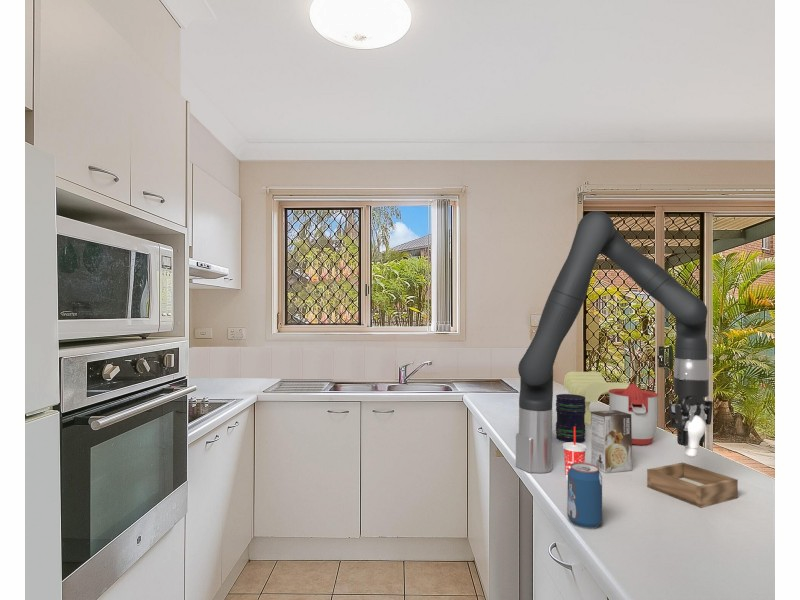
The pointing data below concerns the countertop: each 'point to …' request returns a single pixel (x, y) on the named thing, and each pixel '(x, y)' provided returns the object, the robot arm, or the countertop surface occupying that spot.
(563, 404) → the storage jar
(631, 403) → the citrus juicer
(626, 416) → the coffee box
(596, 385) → the hair dryer
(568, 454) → the beverage cup
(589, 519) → the soda can
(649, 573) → the countertop surface
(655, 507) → the countertop surface
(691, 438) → the lightbulb
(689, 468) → the parts box
